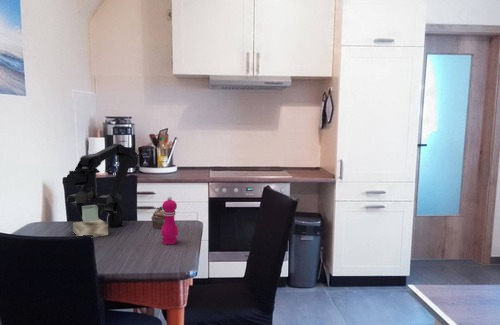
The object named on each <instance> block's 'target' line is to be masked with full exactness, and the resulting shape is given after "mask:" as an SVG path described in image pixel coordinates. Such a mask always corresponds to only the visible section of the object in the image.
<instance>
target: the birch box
mask: <svg viewBox="0 0 500 325" xmlns="http://www.w3.org/2000/svg"><path fill="white" fill-rule="evenodd" d="M72 229H73V230H72V231H73V232H74V233H75V234H76V235H75V234H74V233H73V234H74V235H75V236H76V237H77V236H83V235H93V236H94V237H93V238H97V237H103V236H108V235H109V226H108V224H107V222H105V221H104V220H102V219H101V218H98V221H90V222H84V221H83V220H82V221H75V222H72Z"/></svg>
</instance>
